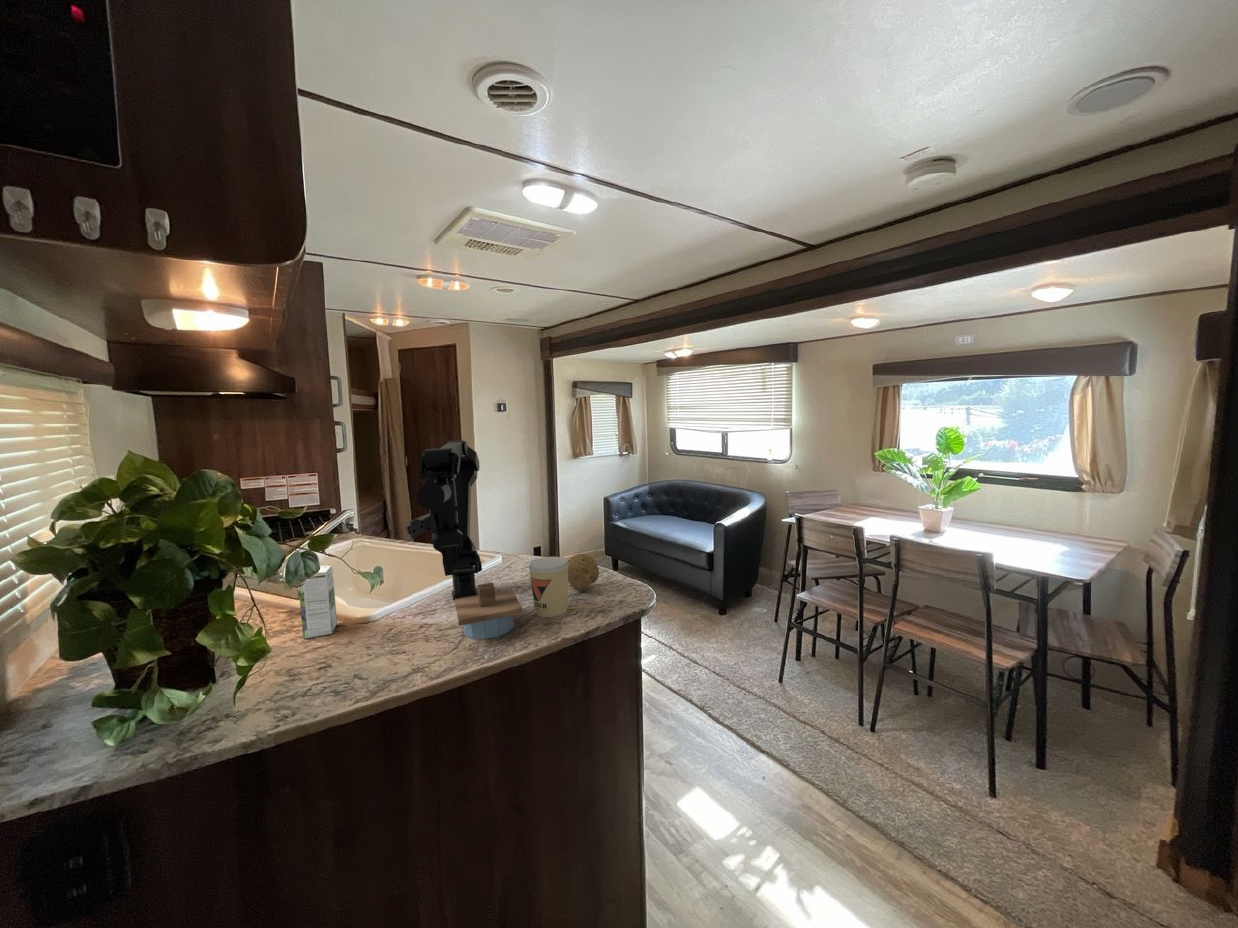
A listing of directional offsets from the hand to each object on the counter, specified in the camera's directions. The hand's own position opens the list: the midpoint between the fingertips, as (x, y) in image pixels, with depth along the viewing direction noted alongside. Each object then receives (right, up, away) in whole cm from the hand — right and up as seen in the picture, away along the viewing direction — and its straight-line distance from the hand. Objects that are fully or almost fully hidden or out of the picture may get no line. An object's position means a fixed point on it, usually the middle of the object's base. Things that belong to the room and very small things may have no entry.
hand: (448, 567), depth 113 cm
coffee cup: (+24, -11, +2) cm, 26 cm away
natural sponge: (+31, -10, +15) cm, 35 cm away
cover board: (+11, -8, -7) cm, 15 cm away
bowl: (+11, -12, -6) cm, 18 cm away
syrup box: (-28, -14, -4) cm, 31 cm away
